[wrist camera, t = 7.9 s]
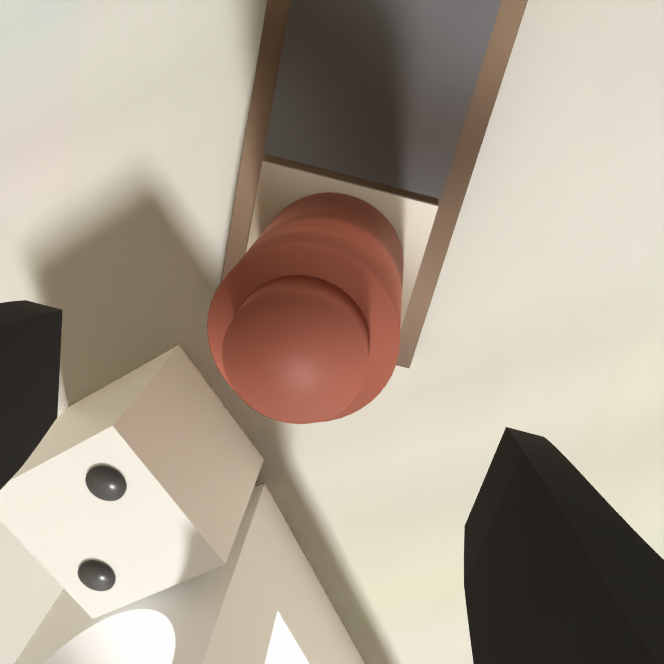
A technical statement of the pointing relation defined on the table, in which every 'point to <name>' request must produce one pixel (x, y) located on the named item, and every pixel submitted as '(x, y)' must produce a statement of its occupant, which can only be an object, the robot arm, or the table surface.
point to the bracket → (212, 612)
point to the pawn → (312, 311)
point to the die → (134, 487)
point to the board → (374, 120)
